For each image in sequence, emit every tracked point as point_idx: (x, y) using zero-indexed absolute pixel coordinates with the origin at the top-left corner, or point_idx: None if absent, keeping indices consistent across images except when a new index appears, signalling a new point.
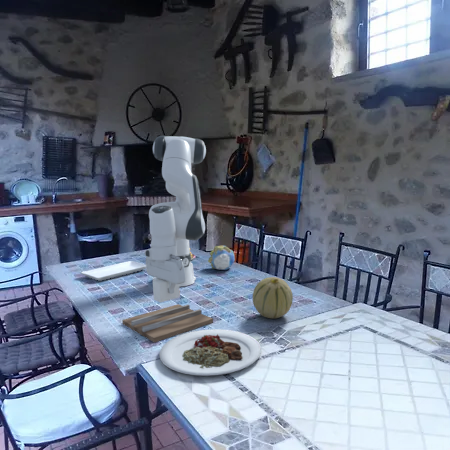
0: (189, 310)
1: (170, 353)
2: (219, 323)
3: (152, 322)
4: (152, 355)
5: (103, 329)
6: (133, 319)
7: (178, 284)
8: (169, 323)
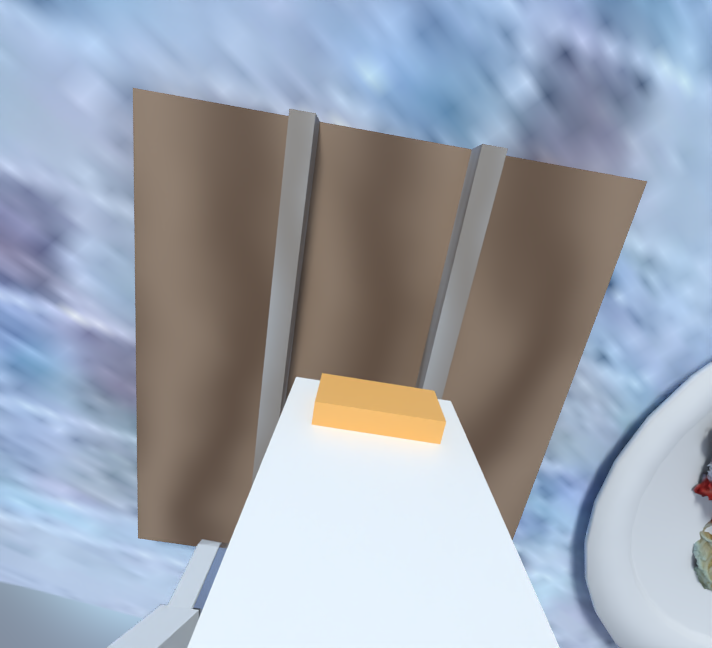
0: (349, 156)
1: (652, 612)
2: (677, 164)
3: None
4: (570, 633)
5: (147, 598)
6: (178, 501)
7: (509, 557)
8: None
